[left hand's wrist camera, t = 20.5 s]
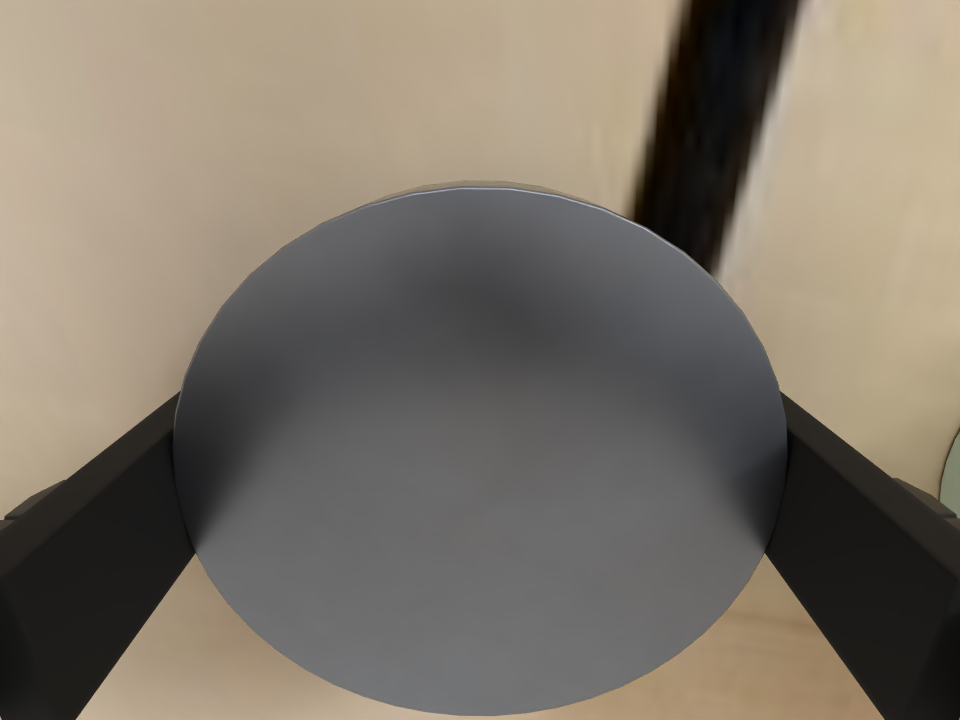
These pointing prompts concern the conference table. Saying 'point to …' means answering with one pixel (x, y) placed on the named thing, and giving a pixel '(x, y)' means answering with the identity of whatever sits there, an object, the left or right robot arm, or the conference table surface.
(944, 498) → the jar
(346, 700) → the conference table surface
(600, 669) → the lid
